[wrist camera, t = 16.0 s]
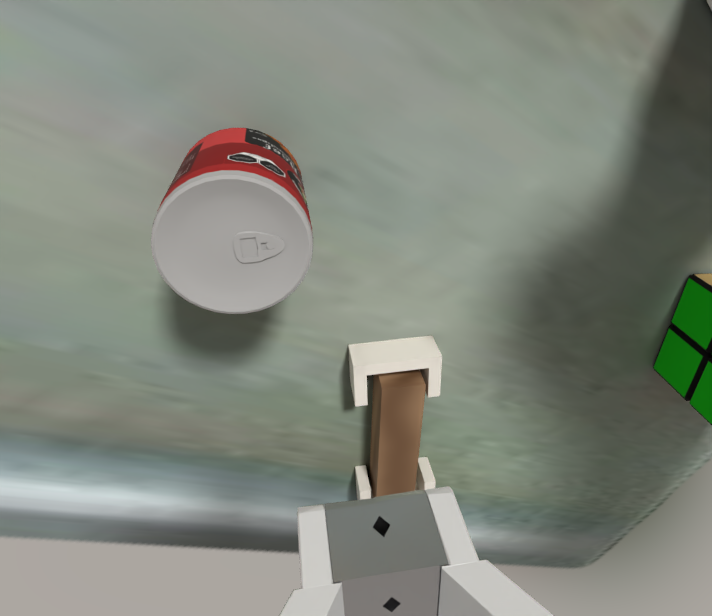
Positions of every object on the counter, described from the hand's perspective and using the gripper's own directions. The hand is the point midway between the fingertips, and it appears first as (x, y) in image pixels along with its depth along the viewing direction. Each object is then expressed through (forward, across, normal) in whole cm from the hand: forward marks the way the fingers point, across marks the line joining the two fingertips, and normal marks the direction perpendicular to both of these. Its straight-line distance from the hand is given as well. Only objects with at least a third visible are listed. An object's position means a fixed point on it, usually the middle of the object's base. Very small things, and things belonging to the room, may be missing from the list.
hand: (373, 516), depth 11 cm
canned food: (+29, +4, +2) cm, 30 cm away
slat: (+29, -6, +25) cm, 39 cm away
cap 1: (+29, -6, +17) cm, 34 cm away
